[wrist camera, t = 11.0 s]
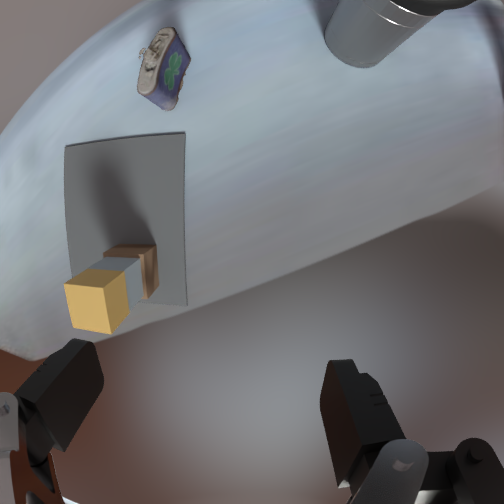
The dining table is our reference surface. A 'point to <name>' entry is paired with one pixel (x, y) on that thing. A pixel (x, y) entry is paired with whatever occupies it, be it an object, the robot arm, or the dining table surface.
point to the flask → (163, 69)
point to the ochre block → (97, 300)
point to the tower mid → (131, 275)
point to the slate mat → (129, 205)
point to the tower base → (147, 263)
